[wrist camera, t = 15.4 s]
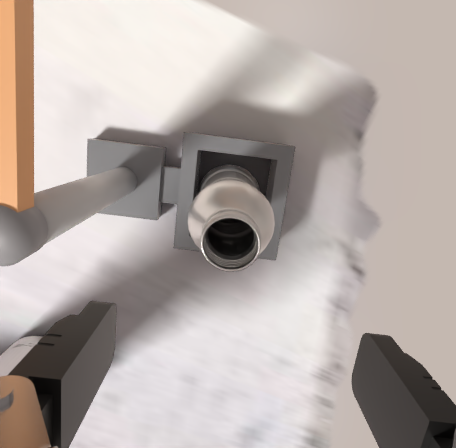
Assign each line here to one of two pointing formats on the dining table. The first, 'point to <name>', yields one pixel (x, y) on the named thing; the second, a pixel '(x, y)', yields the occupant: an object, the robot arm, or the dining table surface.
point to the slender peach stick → (17, 136)
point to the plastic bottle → (230, 218)
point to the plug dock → (157, 184)
